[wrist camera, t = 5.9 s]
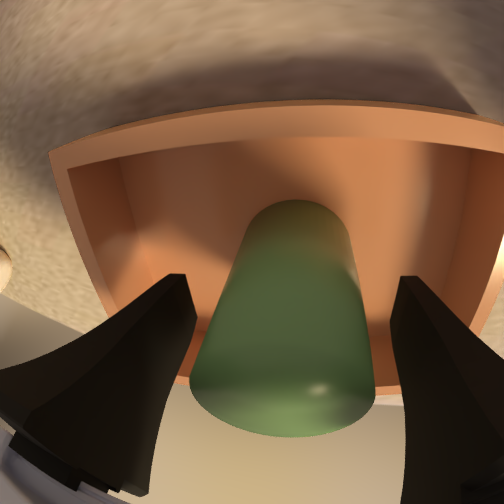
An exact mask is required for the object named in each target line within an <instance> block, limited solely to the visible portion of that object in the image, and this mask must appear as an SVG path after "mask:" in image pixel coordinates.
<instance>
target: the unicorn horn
mask: <svg viewBox="0 0 504 504" xmlns="http://www.w3.org/2000/svg"><path fill="white" fill-rule="evenodd" d="M12 268H13V267H12V264H11V260H10V258H9V257H8V256H7V254H6V253H5V252H4V251H3V250H2V249H0V293H1V291H2V290H3V289H4V288H5V286H6V285H7V283H8V282H9V280H10V277H11V275H12Z"/></svg>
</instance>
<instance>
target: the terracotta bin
mask: <svg viewBox="0 0 504 504" xmlns="http://www.w3.org/2000/svg"><path fill="white" fill-rule="evenodd" d="M48 155H49V159H50V163H51V167H52V171H53V174H54V178H55V182H56V185H57V189H58V192H59V195H60V198H61V202H62V205H63V208H64V211H65V214H66V217H67V220H68V223H69V226H70V228H71V231H72V234H73V237H74V239H75V242H76V245H77V247H78V250H79V252H80V255H81V257H82V260H83V262H84V265H85V267H86V269H87V272H88V274H89V276H90V279H91V281H92V283H93V285H94V288H95V290H96V292H97V294H98V296H99V298H100V301H101V303H102V305H103V307H104V309H105V311H106V313H107V315H108V317H109V318H110V317H111V316H113V315H114V314H116V313H117V312H118V311H120V310H121V309H123V308H124V307H125V306H127V305H128V304H129V303H131V302H132V301H133V300H134V299H136V298H137V297H138V296H140V295H141V294H142V293H144V292H145V291H146V290H147V289H149V288H150V287H151V286H153V285H154V284H155V283H157V282H158V281H159V280H161V279H162V278H163V277H165V276H166V275H168V274H170V273H177V274H186V278H187V281H188V285H189V289H190V292H191V296H192V299H193V303H194V306H195V310H196V313H197V316H198V318H197V322H196V326H195V330H194V333H193V337H192V340H191V343H190V346H189V348H188V350H187V353H186V355H185V357H184V360H183V362H182V365H181V367H180V369H179V372H178V374H177V376H176V379H175V381H174V383H177V384H183V385H189V376H190V373H191V371H192V368H193V365H194V363H195V360H196V358H197V355H198V352H199V350H200V347H201V345H202V342H203V339H204V337H205V334H206V332H207V329H208V326H209V324H210V321H211V319H212V316H213V313H214V311H215V308H216V306H217V303H218V301H219V298H220V296H221V293H222V290H223V288H224V285H225V283H226V280H227V278H228V275H229V273H230V270H231V268H232V265H233V262H234V260H235V257H236V255H237V252H238V250H239V247H240V245H241V242H242V240H243V237H244V235H245V232H246V230H247V227H248V226H249V224H250V222H251V221H252V219H253V218H254V217H255V216H256V215H257V214H258V213H259V212H260V211H262V210H263V209H265V208H266V207H268V206H270V205H272V204H275V203H277V202H281V201H285V200H294V199H295V200H307V201H311V202H315V203H318V204H320V205H322V206H325V207H326V208H328V209H330V210H331V211H332V212H333V213H335V214H336V215H337V216H338V217H339V218H340V219H341V221H342V222H343V223H344V225H345V227H346V229H347V231H348V233H349V236H350V240H351V245H352V249H353V253H354V258H355V263H356V267H357V272H358V277H359V282H360V287H361V292H362V298H363V303H364V309H365V315H366V321H367V327H368V334H369V340H370V347H371V355H372V363H373V371H374V380H375V389H376V395H391V394H402V392H401V387H400V382H399V377H398V372H397V367H396V363H395V358H394V354H393V349H392V341H391V332H390V323H389V321H390V317H391V313H392V309H393V305H394V301H395V297H396V293H397V289H398V284H399V280H400V276H418V277H419V278H420V279H421V280H422V281H423V282H424V283H425V284H426V285H427V286H428V287H429V288H430V289H431V290H432V291H433V292H434V293H435V294H436V295H437V296H438V297H439V298H440V299H441V300H442V301H443V302H444V303H445V304H446V306H447V307H448V308H449V309H450V310H451V311H452V312H453V313H454V314H455V315H456V316H457V317H458V318H459V319H460V320H461V321H462V322H463V323H464V324H465V325H466V326H467V327H468V328H469V329H470V330H471V331H472V332H473V333H474V334H475V335H476V336H477V337H478V336H479V334H480V332H481V330H482V328H483V326H484V324H485V322H486V320H487V318H488V316H489V314H490V312H491V310H492V307H493V305H494V303H495V301H496V298H497V296H498V294H499V291H500V289H501V286H502V284H503V281H504V123H502V122H499V121H496V120H493V119H490V118H486V117H483V116H480V115H476V114H471V113H466V112H461V111H455V110H450V109H444V108H437V107H430V106H423V105H415V104H406V103H396V102H384V101H368V100H340V99H310V100H282V101H266V102H254V103H243V104H234V105H225V106H217V107H210V108H203V109H196V110H190V111H184V112H178V113H173V114H168V115H163V116H158V117H153V118H148V119H144V120H139V121H135V122H131V123H127V124H123V125H119V126H115V127H111V128H108V129H105V130H102V131H99V132H96V133H94V134H91V135H88V136H86V137H83V138H80V139H78V140H75V141H73V142H70V143H68V144H65V145H63V146H61V147H58V148H56V149H54V150H51V151H49V152H48ZM189 386H190V385H189Z"/></svg>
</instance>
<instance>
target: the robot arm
mask: <svg viewBox="0 0 504 504" xmlns="http://www.w3.org/2000/svg"><path fill="white" fill-rule="evenodd" d="M197 318H198V316H197V313H196V310H195V306H194V303H193V299H192V296H191V292H190V289H189V285H188V281H187V278H186V274H177V273H170V274H168V275H166V276H165V277H163V278H162V279H161V280H159V281H158V282H157V283H155V284H154V285H153V286H151V287H150V288H149V289H147V290H146V291H145V292H144V293H142V294H141V295H140V296H138V297H137V298H136V299H134V300H133V301H132V302H131V303H129V304H128V305H127V306H125V307H124V308H123V309H121V310H120V311H118V312H117V313H116V314H114V315H113V316H111V317H110V318H109V319H107V320H106V321H105V322H103V323H102V324H100V325H99V326H97V327H96V328H94V329H92V330H91V331H89V332H88V333H86V334H84V335H83V336H81V337H79V338H78V339H76V340H74V341H72V342H70V343H68V344H66V345H64V346H62V347H60V348H58V349H56V350H54V351H52V352H50V353H48V354H45V355H43V356H41V357H38V358H36V359H33V360H30V361H28V362H25V363H22V364H19V365H16V366H12V367H8V368H5V369H1V370H0V417H1V418H2V419H3V420H4V421H5V422H6V423H8V424H9V425H10V426H11V427H12V428H13V429H14V430H16V432H15V434H14V436H13V435H12V434H10V433H9V432H8V431H7V430H5V429H4V428H3V427H2V426H1V425H0V504H129V503H127V502H125V501H122V500H120V499H118V498H115V497H113V496H111V495H109V494H107V492H108V490H109V489H110V490H112V491H114V492H117V493H119V492H120V490H123V491H126V492H128V493H130V494H133V495H136V496H138V497H142V496H145V495H147V494H148V492H149V482H150V474H151V466H152V461H153V455H154V449H155V444H156V439H157V435H158V431H159V427H160V423H161V419H162V415H163V412H164V408H165V405H166V401H167V398H168V396H169V393H170V390H171V388H172V385H173V383H174V381H175V379H176V376H177V374H178V372H179V369H180V367H181V365H182V362H183V360H184V357H185V355H186V353H187V350H188V348H189V346H190V343H191V340H192V337H193V333H194V330H195V326H196V322H197ZM389 323H390V332H391V341H392V349H393V354H394V358H395V363H396V367H397V372H398V377H399V382H400V387H401V392H402V397H403V403H404V411H405V429H406V430H405V432H406V446H405V469H404V480H403V489H402V496H401V502H400V504H504V359H503V358H501V357H500V356H499V355H498V354H497V353H495V352H494V351H493V350H492V349H491V348H490V347H488V346H487V345H486V344H485V343H484V342H483V341H482V340H481V339H479V338H478V337H477V336H476V335H475V334H474V333H473V332H472V331H471V330H470V329H469V328H468V327H467V326H466V325H465V324H464V323H463V322H462V321H461V320H460V319H459V318H458V317H457V316H456V315H455V314H454V313H453V312H452V311H451V310H450V309H449V308H448V307H447V306H446V304H445V303H444V302H443V301H442V300H441V299H440V298H439V297H438V296H437V295H436V294H435V293H434V292H433V291H432V290H431V289H430V288H429V287H428V286H427V285H426V284H425V283H424V282H423V281H422V280H421V279H420V278H419V277H418V276H400V280H399V284H398V289H397V293H396V297H395V301H394V305H393V309H392V313H391V317H390V321H389Z"/></svg>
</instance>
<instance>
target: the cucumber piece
mask: <svg viewBox="0 0 504 504" xmlns="http://www.w3.org/2000/svg"><path fill="white" fill-rule="evenodd" d="M189 385H190V389H191V391H192V394H193V396H194V397H195V399H196V400H197V401H198V403H199V404H200V405H201V406H202V407H203V408H204V409H205V410H207V411H208V412H209V413H211V414H212V415H213V416H215V417H217V418H218V419H220V420H222V421H224V422H226V423H228V424H230V425H232V426H235V427H237V428H240V429H243V430H246V431H249V432H253V433H257V434H262V435H268V436H276V437H309V436H316V435H322V434H326V433H330V432H334V431H337V430H340V429H342V428H345V427H347V426H349V425H351V424H353V423H354V422H356V421H357V420H359V419H360V418H362V417H363V416H364V415H365V414H366V413H367V412H368V411H369V409H370V408H371V407H372V405H373V403H374V400H375V396H376V389H375V380H374V371H373V363H372V355H371V347H370V340H369V334H368V327H367V321H366V315H365V309H364V303H363V298H362V292H361V287H360V282H359V277H358V272H357V267H356V263H355V258H354V253H353V249H352V245H351V240H350V236H349V233H348V231H347V229H346V227H345V225H344V223H343V222H342V221H341V219H340V218H339V217H338V216H337V215H336V214H335V213H333V212H332V211H331V210H330V209H328V208H326V207H325V206H322V205H320V204H318V203H315V202H311V201H307V200H295V199H294V200H285V201H281V202H277V203H275V204H272V205H270V206H268V207H266V208H265V209H263V210H262V211H260V212H259V213H258V214H257V215H256V216H255V217H254V218H253V219H252V221H251V222H250V224H249V226H248V227H247V230H246V232H245V235H244V237H243V240H242V242H241V245H240V247H239V250H238V252H237V255H236V257H235V260H234V262H233V265H232V268H231V270H230V273H229V275H228V278H227V280H226V283H225V285H224V288H223V290H222V293H221V296H220V298H219V301H218V303H217V306H216V308H215V311H214V313H213V316H212V319H211V321H210V324H209V326H208V329H207V332H206V334H205V337H204V339H203V342H202V345H201V347H200V350H199V352H198V355H197V358H196V360H195V363H194V365H193V368H192V371H191V373H190V376H189Z"/></svg>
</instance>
